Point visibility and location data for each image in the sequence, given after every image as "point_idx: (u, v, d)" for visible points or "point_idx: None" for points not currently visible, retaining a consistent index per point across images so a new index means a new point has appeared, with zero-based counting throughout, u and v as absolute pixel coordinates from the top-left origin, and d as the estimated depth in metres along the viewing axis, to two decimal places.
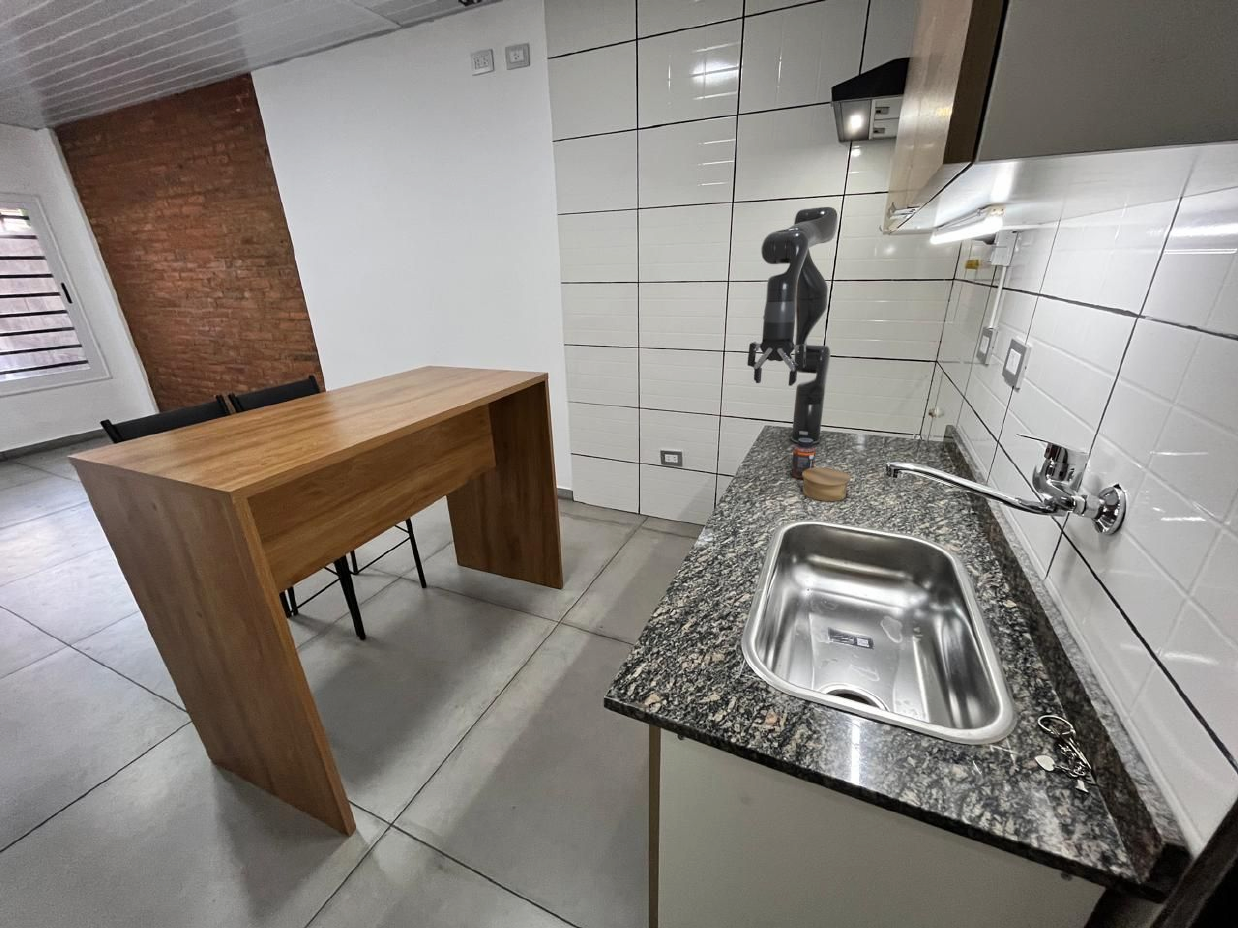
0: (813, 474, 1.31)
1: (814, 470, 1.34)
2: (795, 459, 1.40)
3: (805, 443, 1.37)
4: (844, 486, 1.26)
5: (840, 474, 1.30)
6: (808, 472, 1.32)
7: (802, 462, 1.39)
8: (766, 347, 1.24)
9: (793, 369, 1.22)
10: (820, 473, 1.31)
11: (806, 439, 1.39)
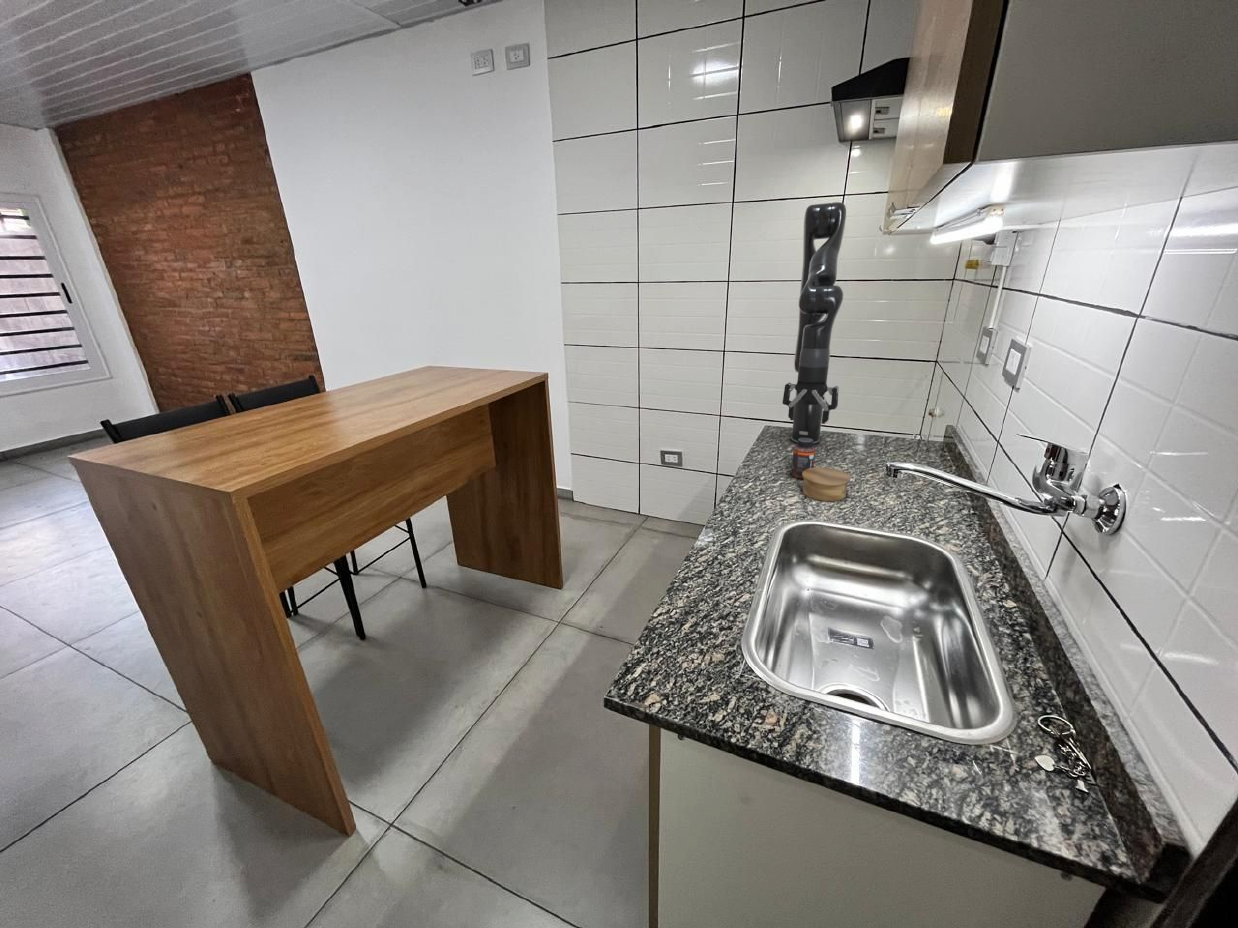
0: (813, 474, 1.31)
1: (814, 470, 1.34)
2: (795, 459, 1.40)
3: (805, 443, 1.37)
4: (844, 486, 1.26)
5: (840, 474, 1.30)
6: (808, 472, 1.32)
7: (802, 462, 1.39)
8: (801, 388, 1.34)
9: (826, 409, 1.32)
10: (820, 473, 1.31)
11: (806, 439, 1.39)
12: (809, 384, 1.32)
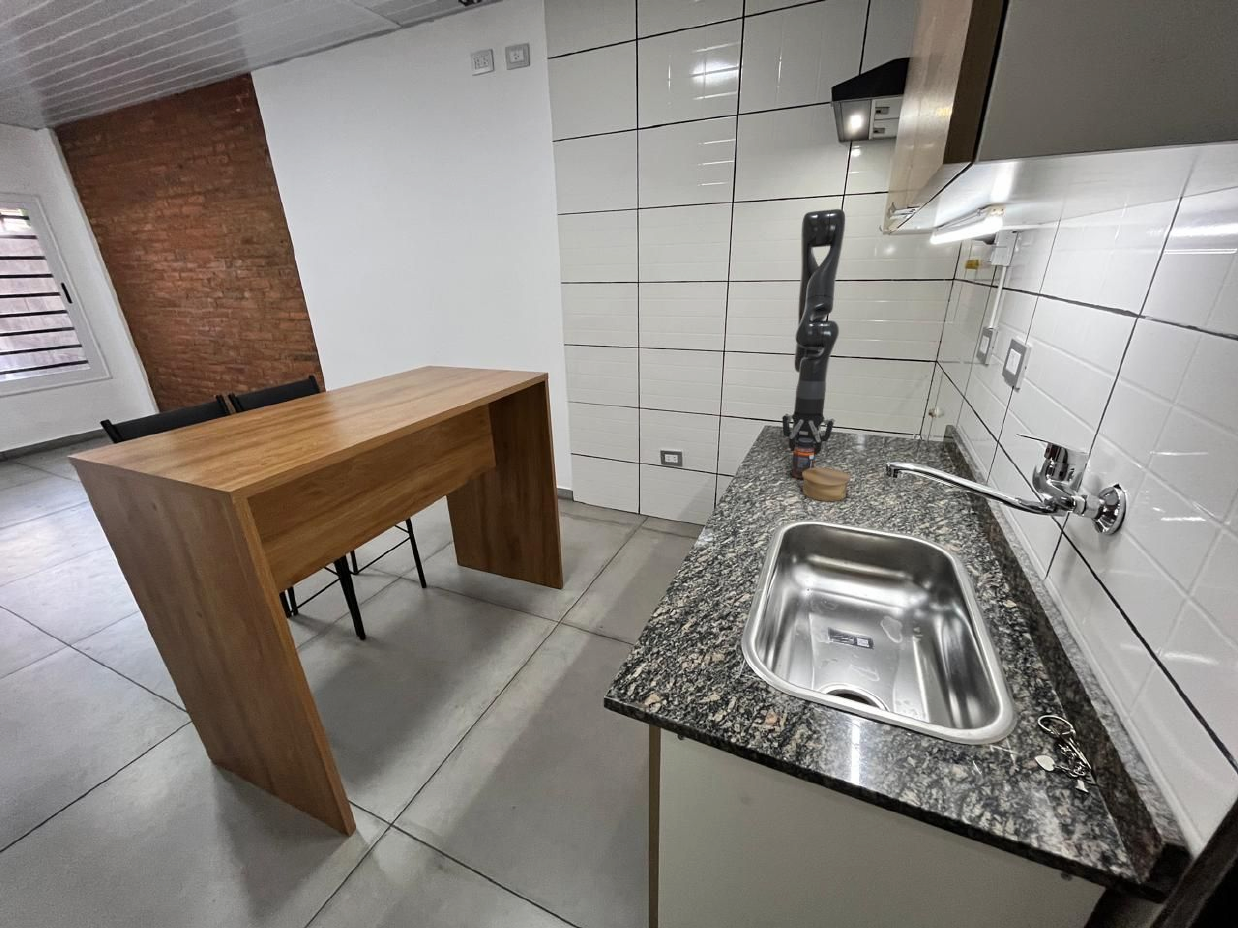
0: (813, 474, 1.31)
1: (814, 470, 1.34)
2: (795, 459, 1.40)
3: (806, 444, 1.37)
4: (844, 486, 1.26)
5: (840, 474, 1.30)
6: (808, 472, 1.32)
7: (802, 462, 1.39)
8: (798, 418, 1.37)
9: (819, 440, 1.36)
10: (820, 473, 1.31)
11: (806, 439, 1.39)
12: (806, 414, 1.35)
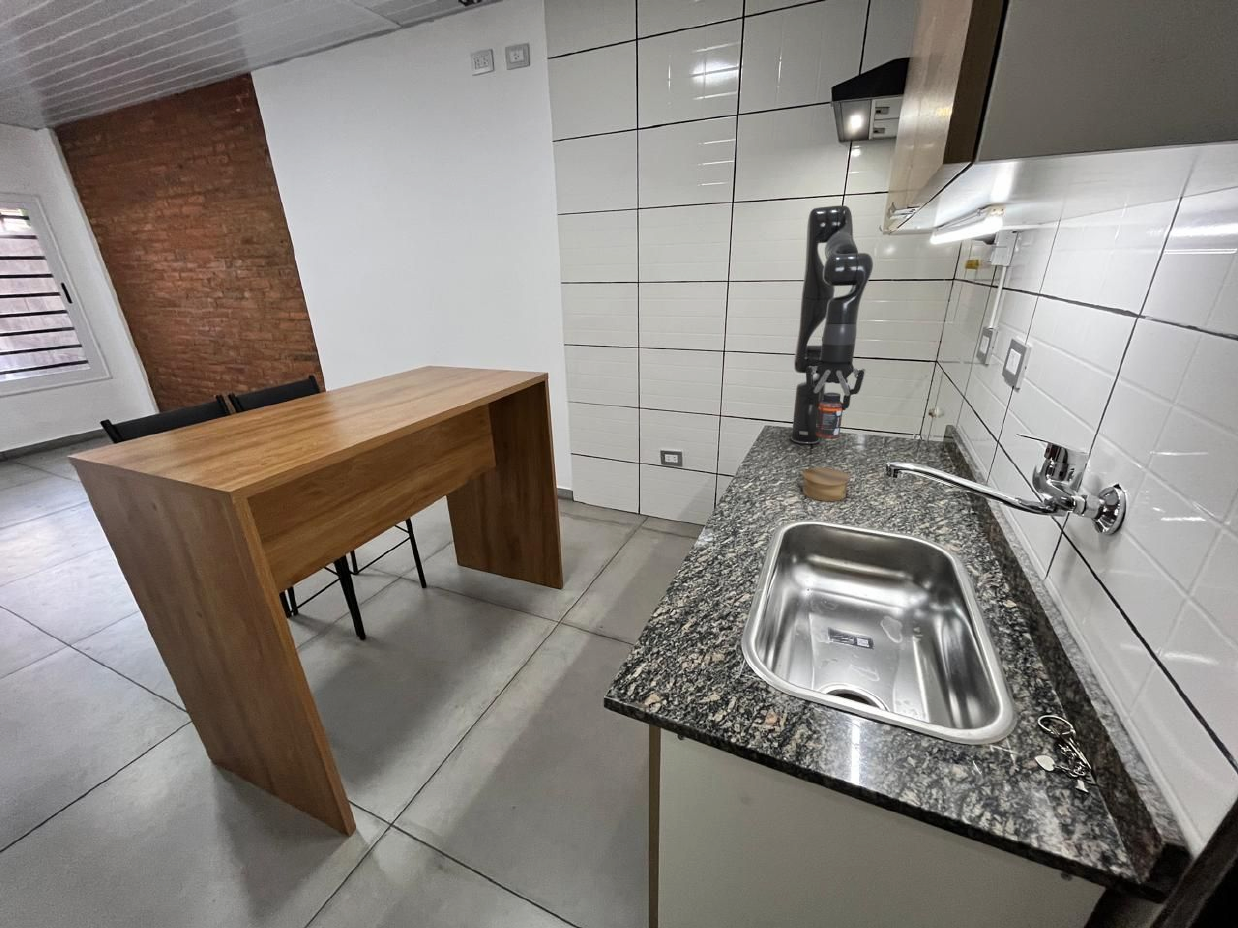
0: (813, 474, 1.31)
1: (814, 470, 1.34)
2: (820, 416, 1.25)
3: (832, 398, 1.22)
4: (844, 486, 1.26)
5: (840, 474, 1.30)
6: (808, 472, 1.32)
7: (828, 419, 1.23)
8: (824, 368, 1.22)
9: (847, 394, 1.20)
10: (820, 473, 1.31)
11: (833, 393, 1.24)
12: (833, 364, 1.20)
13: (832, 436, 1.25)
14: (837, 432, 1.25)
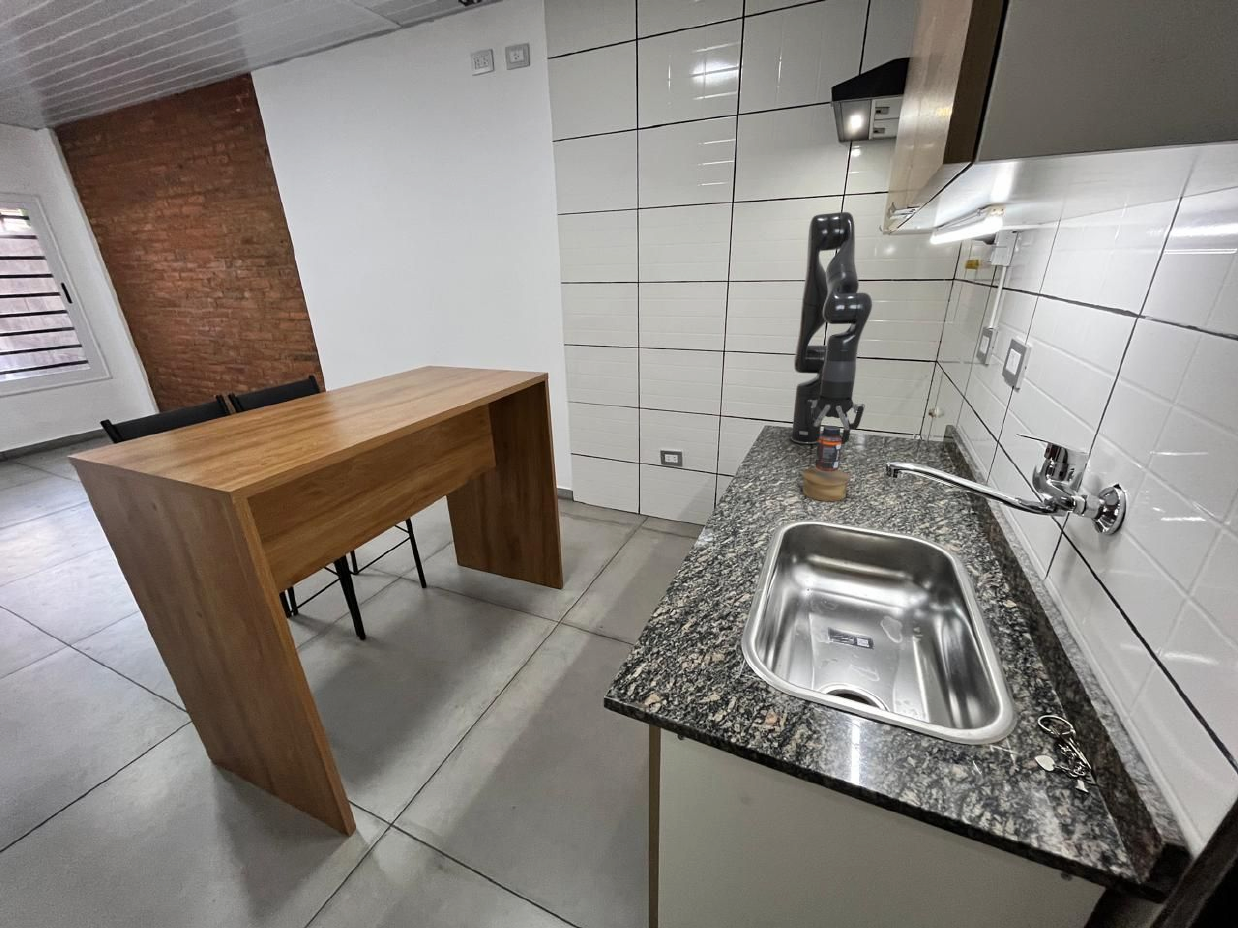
0: (813, 474, 1.31)
1: (814, 470, 1.34)
2: (820, 449, 1.26)
3: (832, 432, 1.24)
4: (844, 486, 1.26)
5: (840, 474, 1.30)
6: (808, 472, 1.32)
7: (828, 453, 1.25)
8: (824, 403, 1.23)
9: (847, 428, 1.22)
10: (820, 473, 1.31)
11: (833, 427, 1.25)
12: (833, 399, 1.22)
13: (832, 469, 1.26)
14: (837, 465, 1.26)
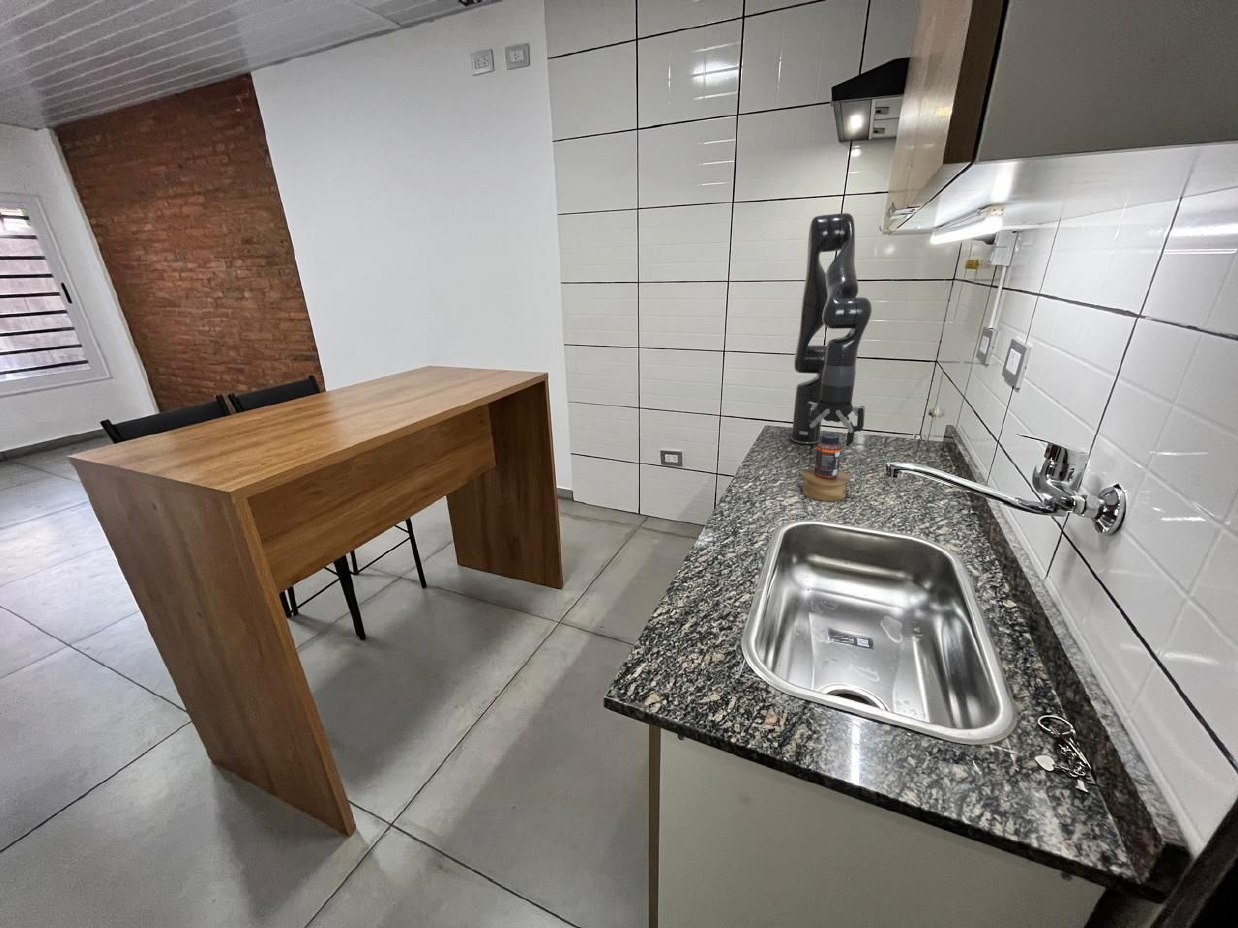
0: (813, 474, 1.31)
1: (814, 470, 1.34)
2: (819, 457, 1.27)
3: (831, 440, 1.25)
4: (844, 486, 1.26)
5: (840, 474, 1.30)
6: (808, 472, 1.32)
7: (827, 460, 1.26)
8: (823, 408, 1.24)
9: (851, 431, 1.22)
10: None
11: (831, 435, 1.26)
12: (832, 404, 1.22)
13: (831, 476, 1.27)
14: (836, 472, 1.27)
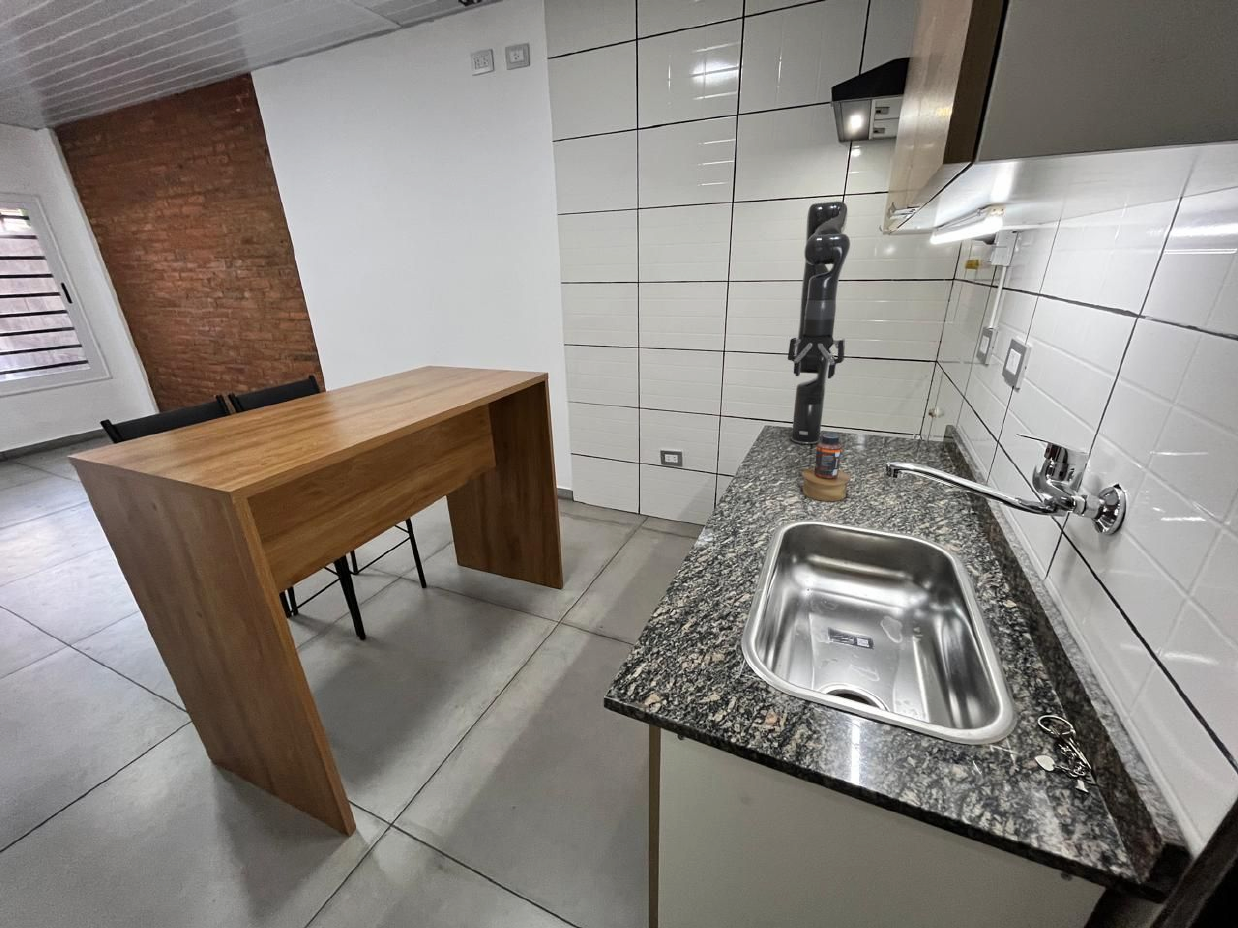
0: (813, 474, 1.31)
1: (814, 470, 1.34)
2: (819, 457, 1.27)
3: (831, 440, 1.25)
4: (844, 486, 1.26)
5: (840, 474, 1.30)
6: (808, 472, 1.32)
7: (827, 460, 1.26)
8: (806, 342, 1.32)
9: (832, 363, 1.30)
10: None
11: (831, 435, 1.26)
12: (815, 338, 1.30)
13: (831, 476, 1.27)
14: (836, 472, 1.27)
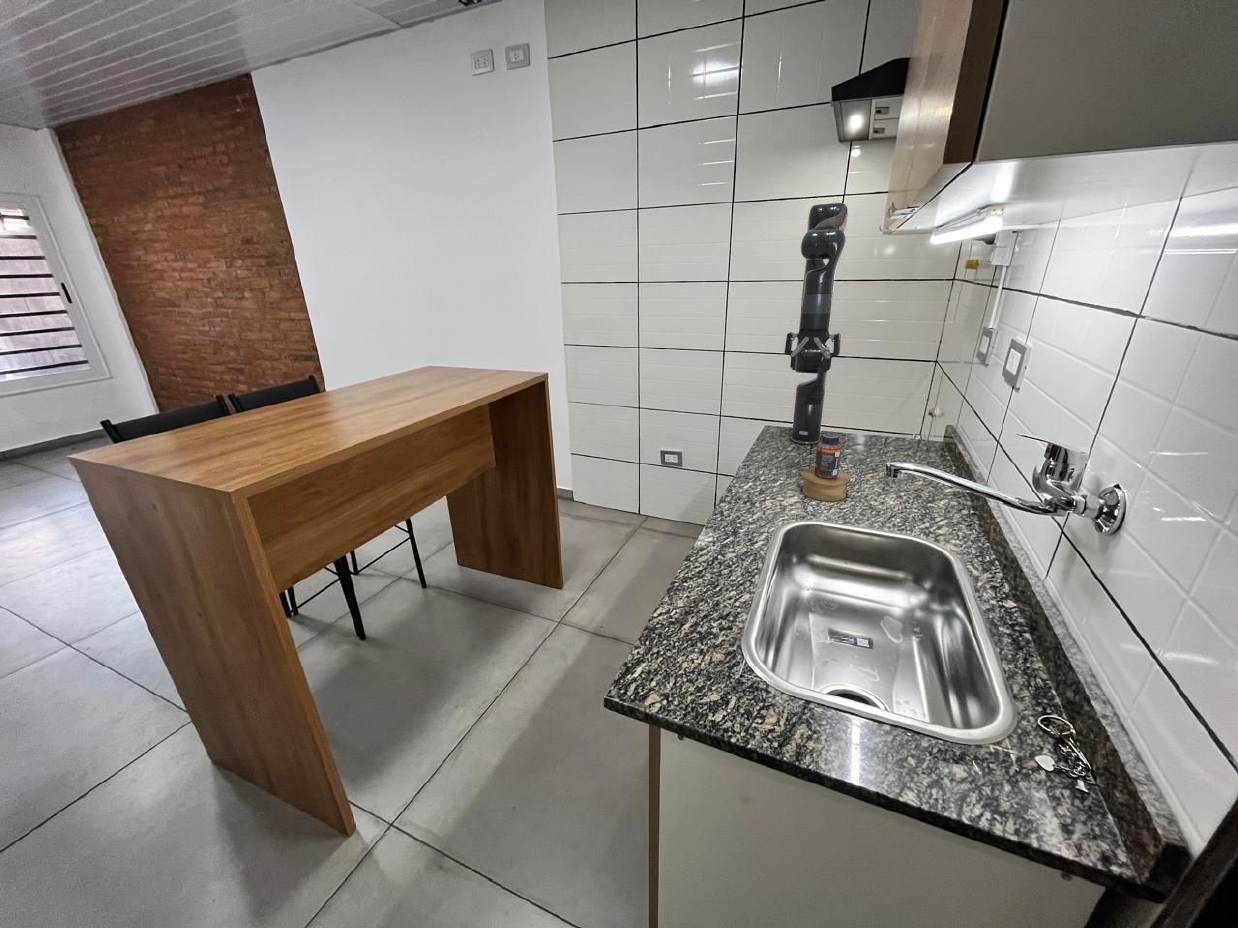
0: (813, 474, 1.31)
1: (814, 470, 1.34)
2: (819, 457, 1.27)
3: (831, 440, 1.25)
4: (844, 486, 1.26)
5: (840, 474, 1.30)
6: (808, 472, 1.32)
7: (827, 460, 1.26)
8: (803, 336, 1.34)
9: (828, 357, 1.32)
10: None
11: (831, 435, 1.26)
12: (811, 332, 1.32)
13: (831, 476, 1.27)
14: (836, 472, 1.27)
